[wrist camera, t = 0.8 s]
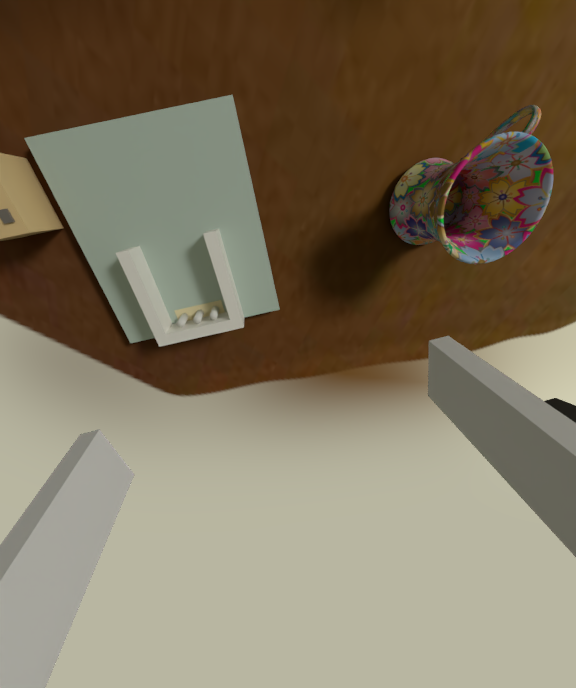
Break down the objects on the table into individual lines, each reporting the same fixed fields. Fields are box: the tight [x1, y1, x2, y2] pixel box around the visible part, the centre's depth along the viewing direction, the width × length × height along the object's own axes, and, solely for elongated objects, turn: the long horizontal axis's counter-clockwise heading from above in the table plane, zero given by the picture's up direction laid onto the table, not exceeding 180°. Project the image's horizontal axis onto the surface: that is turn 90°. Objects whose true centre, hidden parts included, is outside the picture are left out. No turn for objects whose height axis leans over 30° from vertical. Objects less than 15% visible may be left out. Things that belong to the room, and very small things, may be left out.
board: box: [24, 95, 280, 347], centre depth 28 cm, size 20×18×4 cm
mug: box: [389, 105, 553, 264], centre depth 26 cm, size 12×9×11 cm
